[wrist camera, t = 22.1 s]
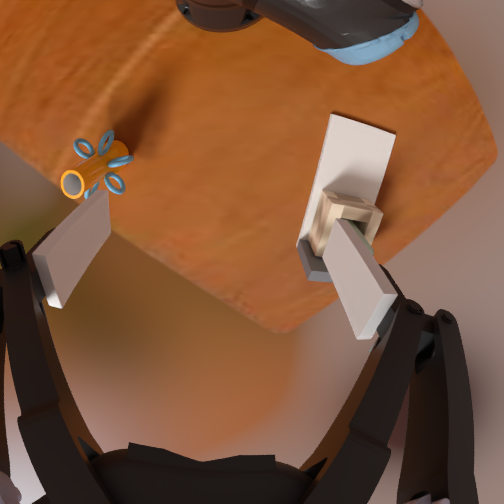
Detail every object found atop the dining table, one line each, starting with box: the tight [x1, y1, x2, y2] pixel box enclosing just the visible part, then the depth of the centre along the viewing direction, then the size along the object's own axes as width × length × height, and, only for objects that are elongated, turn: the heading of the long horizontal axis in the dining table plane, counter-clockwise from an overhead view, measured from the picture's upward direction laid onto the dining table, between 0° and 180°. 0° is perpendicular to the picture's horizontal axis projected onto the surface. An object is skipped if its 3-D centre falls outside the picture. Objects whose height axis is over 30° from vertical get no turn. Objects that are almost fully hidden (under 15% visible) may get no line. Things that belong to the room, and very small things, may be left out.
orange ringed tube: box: [61, 130, 134, 199], centre depth 35 cm, size 12×10×15 cm
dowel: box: [340, 218, 374, 256], centre depth 45 cm, size 4×4×12 cm
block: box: [308, 190, 383, 257], centre depth 47 cm, size 10×10×6 cm
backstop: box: [296, 114, 396, 283], centre depth 43 cm, size 26×13×11 cm, turn 170°
